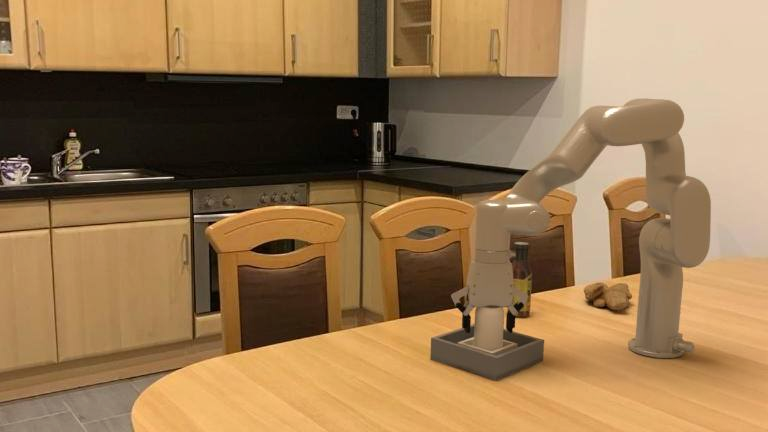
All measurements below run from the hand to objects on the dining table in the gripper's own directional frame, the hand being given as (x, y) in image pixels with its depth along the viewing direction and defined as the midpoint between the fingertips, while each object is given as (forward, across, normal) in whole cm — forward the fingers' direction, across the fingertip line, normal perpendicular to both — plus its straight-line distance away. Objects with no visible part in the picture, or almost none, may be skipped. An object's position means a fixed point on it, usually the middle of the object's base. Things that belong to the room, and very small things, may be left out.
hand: (488, 331), depth 176 cm
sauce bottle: (+7, -17, -35) cm, 40 cm away
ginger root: (+7, -46, -45) cm, 64 cm away
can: (+6, 0, 0) cm, 6 cm away
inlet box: (+7, 0, 0) cm, 7 cm away
